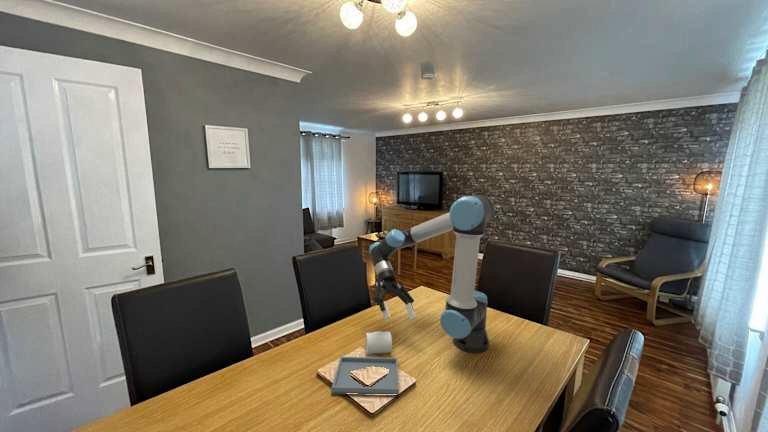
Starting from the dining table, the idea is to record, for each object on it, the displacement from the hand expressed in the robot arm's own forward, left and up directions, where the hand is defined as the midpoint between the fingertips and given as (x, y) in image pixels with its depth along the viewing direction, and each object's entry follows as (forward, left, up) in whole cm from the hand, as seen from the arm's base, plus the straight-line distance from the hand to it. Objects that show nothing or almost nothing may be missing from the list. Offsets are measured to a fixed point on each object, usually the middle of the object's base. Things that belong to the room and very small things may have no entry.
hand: (400, 318), depth 119 cm
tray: (+12, +14, -15) cm, 24 cm away
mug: (+9, -4, -16) cm, 19 cm away
